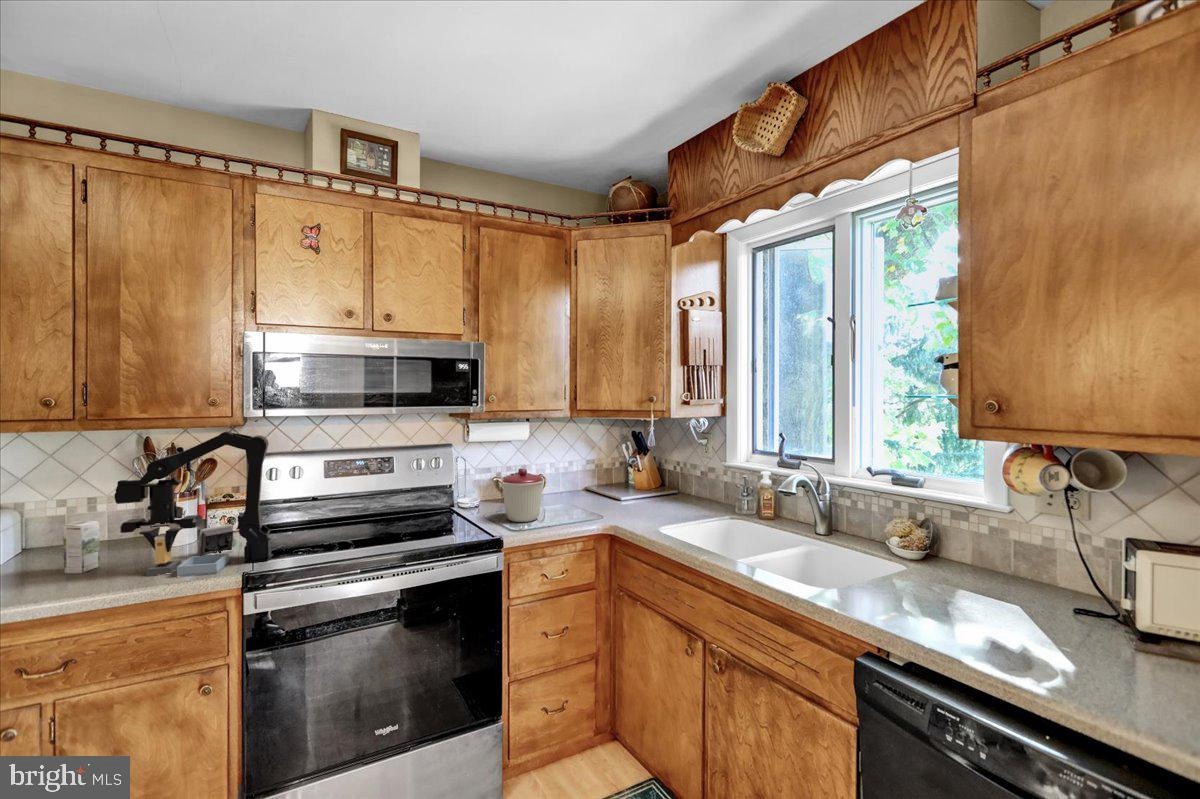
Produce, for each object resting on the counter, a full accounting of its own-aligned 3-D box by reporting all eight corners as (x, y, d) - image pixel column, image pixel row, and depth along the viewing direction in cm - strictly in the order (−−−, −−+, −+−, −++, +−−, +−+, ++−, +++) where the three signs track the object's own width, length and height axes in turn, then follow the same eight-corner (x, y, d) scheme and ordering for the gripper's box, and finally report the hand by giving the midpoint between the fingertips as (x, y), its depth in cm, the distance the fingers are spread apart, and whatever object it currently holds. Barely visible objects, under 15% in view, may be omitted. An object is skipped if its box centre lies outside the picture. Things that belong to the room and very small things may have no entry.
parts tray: (229, 562, 171) (228, 553, 171) (216, 573, 161) (216, 563, 161) (191, 565, 168) (191, 556, 168) (177, 577, 159) (176, 566, 158)
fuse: (171, 558, 166) (171, 532, 165) (165, 563, 162) (164, 536, 162) (161, 559, 165) (161, 533, 165) (155, 564, 161) (154, 537, 161)
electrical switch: (230, 548, 186) (230, 522, 185) (235, 553, 182) (236, 526, 182) (197, 555, 178) (197, 528, 178) (202, 560, 175) (202, 532, 174)
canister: (492, 518, 226) (492, 468, 225) (528, 511, 238) (528, 464, 237) (516, 527, 212) (516, 474, 212) (553, 519, 224) (553, 468, 224)
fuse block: (181, 566, 168) (180, 560, 168) (170, 574, 161) (170, 567, 161) (157, 568, 166) (157, 561, 166) (146, 576, 159) (146, 569, 159)
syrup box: (82, 567, 167) (80, 520, 167) (100, 567, 167) (99, 520, 167) (63, 573, 161) (61, 525, 161) (82, 573, 161) (81, 525, 161)
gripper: (208, 493, 173) (210, 541, 174) (138, 497, 168) (140, 546, 168) (194, 500, 163) (195, 552, 163) (118, 504, 157) (120, 558, 158)
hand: (163, 552), depth 163 cm, fingers closed on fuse, 2 cm apart
